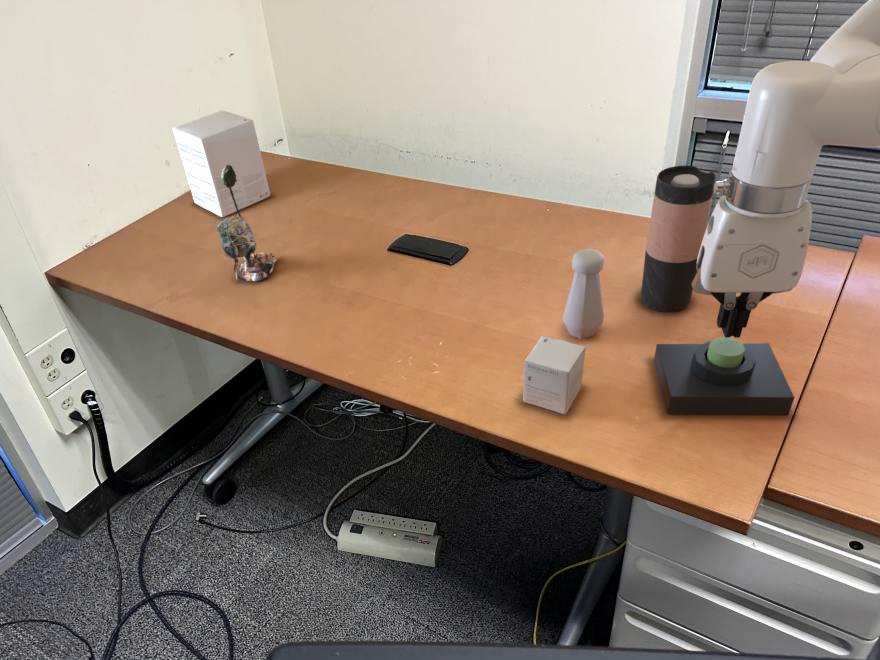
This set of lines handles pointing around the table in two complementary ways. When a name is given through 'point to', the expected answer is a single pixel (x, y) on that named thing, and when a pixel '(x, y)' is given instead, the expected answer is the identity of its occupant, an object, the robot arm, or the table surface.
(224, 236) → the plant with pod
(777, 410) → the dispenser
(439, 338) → the table surface
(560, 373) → the product box
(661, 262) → the travel mug
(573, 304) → the salt shaker
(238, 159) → the supplement box
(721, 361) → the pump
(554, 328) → the table surface
